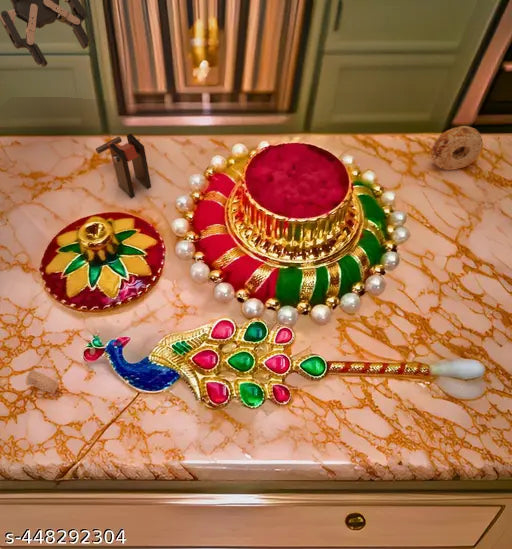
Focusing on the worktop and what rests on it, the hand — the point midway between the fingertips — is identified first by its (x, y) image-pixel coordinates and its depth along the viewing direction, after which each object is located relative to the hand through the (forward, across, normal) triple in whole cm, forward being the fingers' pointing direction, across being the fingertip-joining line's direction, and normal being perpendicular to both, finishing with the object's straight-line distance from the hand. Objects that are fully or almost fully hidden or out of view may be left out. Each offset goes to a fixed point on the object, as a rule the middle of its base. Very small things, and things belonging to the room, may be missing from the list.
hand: (66, 56), depth 106 cm
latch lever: (+20, 0, +1) cm, 20 cm away
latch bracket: (+28, 0, +4) cm, 28 cm away
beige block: (+46, -36, -14) cm, 60 cm away
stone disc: (+54, +57, -21) cm, 82 cm away
